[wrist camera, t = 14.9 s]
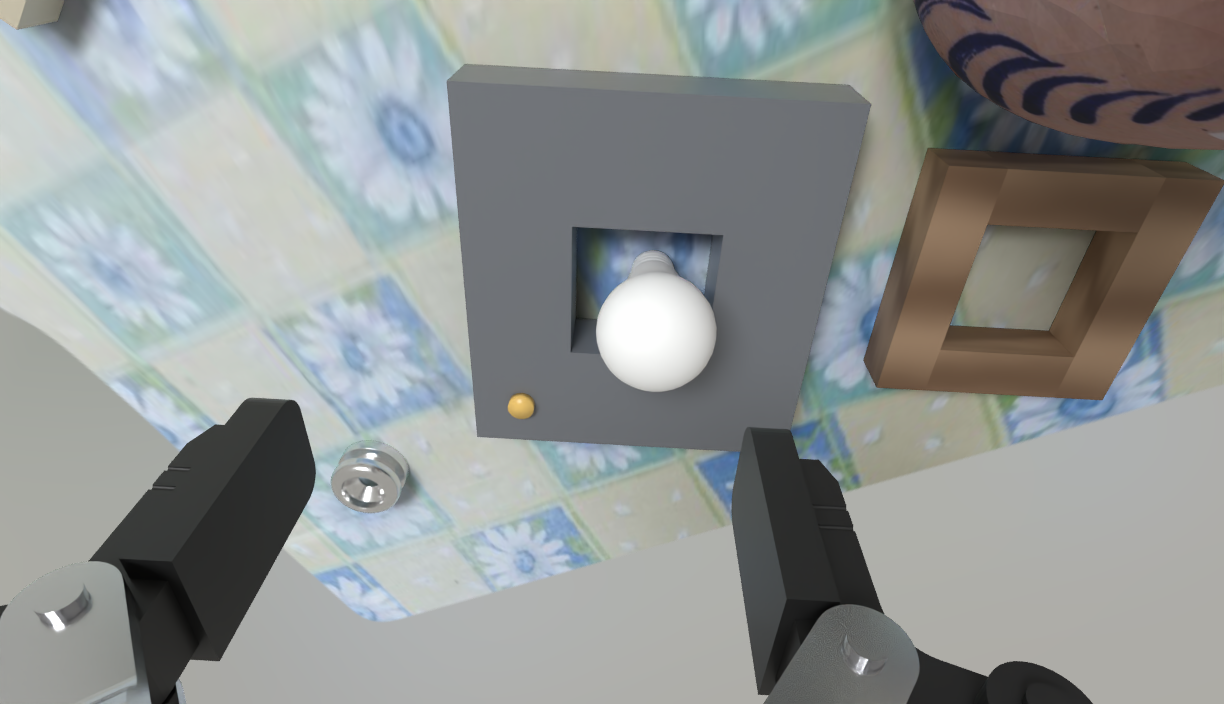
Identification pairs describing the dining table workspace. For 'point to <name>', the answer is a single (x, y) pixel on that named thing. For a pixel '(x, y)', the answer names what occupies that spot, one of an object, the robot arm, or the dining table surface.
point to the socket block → (647, 201)
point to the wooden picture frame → (1098, 296)
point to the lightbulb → (656, 327)
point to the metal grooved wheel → (369, 476)
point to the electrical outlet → (30, 12)
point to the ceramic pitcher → (1093, 64)
